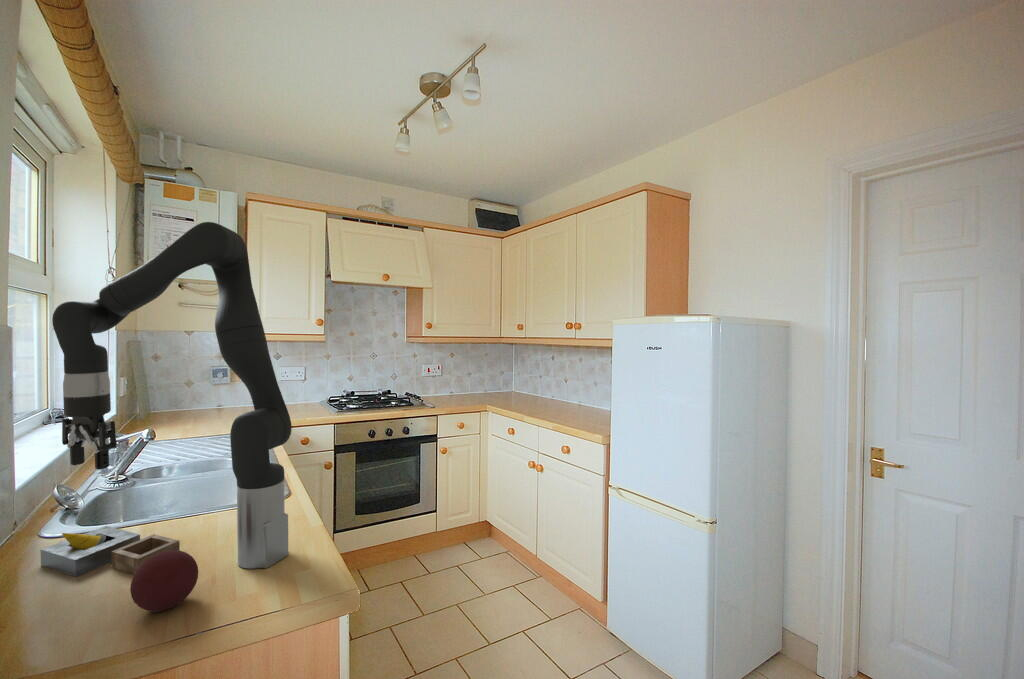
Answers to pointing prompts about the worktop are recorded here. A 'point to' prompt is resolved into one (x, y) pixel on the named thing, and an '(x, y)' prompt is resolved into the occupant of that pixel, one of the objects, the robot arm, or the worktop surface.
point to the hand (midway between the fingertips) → (89, 466)
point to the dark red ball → (164, 580)
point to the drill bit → (84, 540)
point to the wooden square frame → (141, 552)
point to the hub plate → (86, 552)
